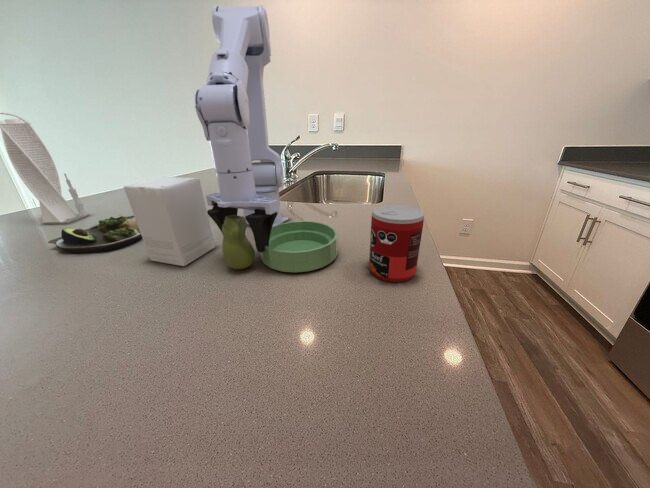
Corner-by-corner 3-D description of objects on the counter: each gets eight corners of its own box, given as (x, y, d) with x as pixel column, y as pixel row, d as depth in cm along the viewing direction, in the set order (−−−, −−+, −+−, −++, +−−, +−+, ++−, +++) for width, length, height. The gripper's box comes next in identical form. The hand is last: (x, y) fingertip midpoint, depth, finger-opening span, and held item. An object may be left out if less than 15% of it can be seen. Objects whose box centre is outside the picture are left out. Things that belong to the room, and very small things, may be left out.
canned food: (364, 261, 48) (367, 205, 44) (405, 259, 49) (412, 203, 44) (375, 285, 42) (379, 221, 37) (423, 281, 42) (433, 218, 37)
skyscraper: (63, 225, 71) (6, 111, 59) (34, 226, 71) (-28, 112, 59) (89, 215, 78) (44, 112, 66) (63, 215, 78) (13, 113, 66)
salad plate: (105, 222, 72) (98, 206, 70) (170, 220, 72) (165, 204, 70) (38, 255, 54) (26, 235, 52) (124, 252, 55) (115, 232, 53)
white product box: (217, 247, 56) (201, 177, 49) (184, 267, 48) (160, 188, 42) (184, 242, 58) (165, 175, 52) (148, 260, 51) (121, 185, 44)
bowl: (245, 263, 49) (241, 242, 47) (290, 235, 61) (289, 217, 59) (312, 283, 42) (311, 259, 40) (349, 247, 54) (349, 227, 52)
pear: (233, 259, 50) (223, 211, 46) (259, 259, 50) (252, 210, 46) (222, 275, 45) (210, 222, 41) (252, 274, 45) (242, 221, 41)
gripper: (183, 172, 42) (202, 248, 47) (250, 177, 35) (263, 264, 41) (218, 166, 47) (232, 234, 53) (282, 169, 41) (289, 246, 46)
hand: (247, 246), depth 47 cm, fingers open, 7 cm apart
